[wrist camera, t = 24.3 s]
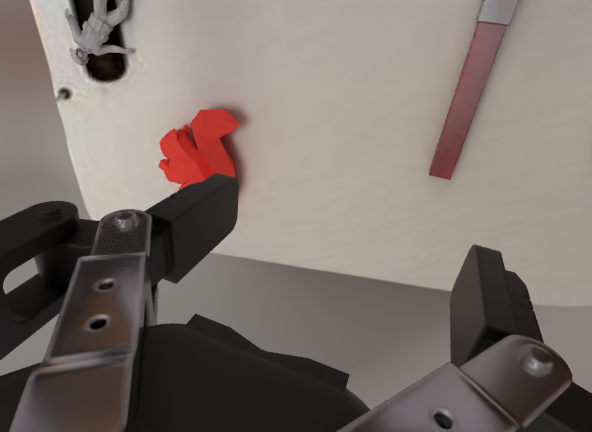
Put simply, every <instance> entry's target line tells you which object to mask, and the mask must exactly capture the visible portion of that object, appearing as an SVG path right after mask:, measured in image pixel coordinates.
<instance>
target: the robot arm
mask: <svg viewBox="0 0 592 432" xmlns="http://www.w3.org/2000/svg"><path fill="white" fill-rule="evenodd" d="M238 190H239V183H238V180H237V178H235V177H231V176H227V175H224V174H220V173H215V174H213V175H212V176H210V177H209V178H207V179H205V180H204V181H202V182H197V183H194V184H190V185H187V186H185V187H184V188H182V189H180V190H179V191H177V193H176V192H175V193H174V194H172V195H171V196H170V197H169V198H168V197H167V198H166V199H164V200H162V201H161V202H159V203H157V204H156V205H154V206H152V207H151V208H149V209H148V210H146V211H141V210H134V209H127V210H119V211H115V212H112V213H110V214H108V215H106V216H104V217H103V218H102V219H101V220H100V221H94V220H84V219H79V214H78V209H77V207H76V206H75V205H74V204H72V203H70V202H65V201H51V202H44V203H40V204H36V205H33V206H31V207H29V208H27V209H25V210H23V211H20V212H18V213H16V214H14V215H12V216H10V217H8V218H6V219H3V220H1V221H0V360H1V359H3V358H4V357H5V356H6V355H7V354H9V353H10V352H11V351H12V350H14V349H15V348H16V347H17V346H19V345H20V344H21V343H22V342H23V341H25V340H26V339H27V338H29V337H30V336H31V335H32V334H34V333H35V332H36V331H37V330H39V329H40V328H41V327H42V326H44V325H45V324H46V323H47V322H49V321H50V320H51V319H52V318H54V317H55V316H56V315H57V314H59V316H58V319H57V322H56V325H55V328H54V331H53V334H52V337H51V340H50V343H49V346H48V348H47V352H46V354H45V357H44V359H43V361H42V362H41V363H38V364H35V365H32V366H29V367H26V368H23V369H20V370H17V371H14V372H11V373H8V374H5V375H2V376H0V432H592V393H590V392H588V391H587V390H585V389H583V388H581V387H580V386H578V385H577V384H575V383H574V382H573V381H572V373H571V371H570V369H569V367H568V365H567V364H566V363H565V361H564V360H563V359H562V358H561V357H560V356H559V355H558V354H557V353H556V352H555V351H554V350H552V349H551V348H549V347H548V346H546V345H545V344H544V342H543V339H542V335H541V332H540V329H539V326H538V322H537V319H536V316H535V313H534V311H533V306H532V303H531V301H530V296H529V293H528V290H527V287H526V285H525V284H524V283H523V281H522V280H521V279H520V278H519V277H518V276H517V274H516V273H514V272H511V271H507V270H505V267H504V263H503V259H502V255H501V252H499V251H496V250H492V249H489V248H485V247H482V246H478V245H473V246H472V247H471V248H470V250H469V252H468V255H467V257H466V259H465V261H464V264H463V266H462V268H461V270H460V273H459V275H458V277H457V279H456V282H455V284H454V287H453V290H452V294H451V299H450V333H451V335H450V339H451V362H448V363H446V364H444V365H442V366H440V367H439V368H437V369H436V370H434V371H432V372H431V373H430V374H428V375H426V376H424V377H423V378H421V379H420V380H418V381H416V382H415V383H413V384H412V385H410V386H409V387H407V388H405V389H404V390H402V391H400V392H399V393H397V394H396V395H394V396H393V397H391V398H389V399H388V400H386V401H384V402H383V403H381V404H380V405H378V406H376V407H375V408H373V409H372V410H370V409H369V408H368V407H367V406H366V405H365V403H364V402H363V401H362V400H360V399H359V398H358V397H357V396H356V395H355V394H353V393H352V392H351V391H349V390H347V389H346V385H347V382H348V378H349V374H347V373H344V372H342V371H339V370H337V369H334V368H331V367H329V366H327V365H324V364H322V363H319V362H316V361H314V360H311V359H309V358H303V357H297V356H291V355H284V354H279V353H273V352H267V351H264V350H261V349H260V348H258V347H257V346H256V345H254V344H252V343H251V342H250V341H248V340H247V339H246V338H244V337H243V336H242V335H240V334H239V333H237V332H236V331H235V330H233V329H232V328H230V327H228V326H225V325H223V324H220V323H218V322H215V321H213V320H210V319H207V318H205V317H203V316H200V315H197V314H195V315H194V316H193V317H192V318H191V320H190V321H189V322H188V323H187V324H174V323H173V324H159V325H157V312H158V282H159V281H160V280H161V279H165V280H168V281H170V282H173V283H176V284H177V283H178V282H179V281H180V280H181V279H182V278H183V277H184V276H185V275H186V274H187V273H188V272H189V271H190V270H191V269H193V267H195V266H196V265H197V264H198V263H199V262H200V261H201V260H202V259H203V258H204V257H205V256H206V255H207V254H208V253H209V252H210V251H212V250H213V249H214V248H215V247H216V246H217V245H218V244H219V243H220V242H221V241H222V240H223V239H224V238H225V237H226V236H227V235H228V234H229V233H231V231H232V230H233V228H234V227H235V224H236V221H237V213H238ZM33 257H34V259H35V262H36V265H37V269H38V272H39V273H38V274H37V275H35V276H34V277H32V278H31V279H29V280H27V281H26V282H24V283H23V284H21V285H20V286H18V287H17V288H15V289H14V290H12V291H11V292H9V293H7V294H6V295H5V293H4V290H3V282H4V279H5V277H6V276H7V275H8V273H10V272H11V271H12V270H13V269H15V268H17V267H18V266H20V265H22V264H23V263H25V262H26V261H28V260H30V259H32V258H33Z"/></svg>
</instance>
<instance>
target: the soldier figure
mask: <svg viewBox="0 0 592 432" xmlns="http://www.w3.org/2000/svg"><path fill="white" fill-rule="evenodd" d="M106 2H107V0H94V12H92V13H91V16H90V18H89V21H88V22H87V21H85V22H84V24H83V26H82V27H83V30H82V31H81V32H80V28H79V26H78V23H77V21H76V19H75V18H74V17H73V16H74V15H71V13H69V12H70V11H69V9H68V8H67V9H66V10H65V16H66V18H67V21H68V24H69V25H70V27H71V31H72V35H73V38H74V39H73V40H74V41H75V42H76V43H77V44H79V45H80V49H79V47H78V49H76V50H73V49H70V54H71V57H72V59H73V60H74V61H75V62H76V63H77V64H79V65H82V66H83V65H84V64H86V63H87V62H88V59H89V58H88V57H87V54H86V53H88V54H90V53H93V54H95V55H98V56H99V55H101V54H105V53H110V52H114V53H125V54H126V53H127V54H130V53H132V52H133V51H132V50H131V49H129V48H127V49H126V50H125V49H124V48H121V47H118V46H115V45H102V44H103V42H104V43H105V42H106V41H107V40H108V39H109V37H108V36H109V33H110V32H111V31H112V30H113V28H114V26H116V25H117V24H119V23H120V22H121V21H122V20H124V19H125V18H126V17H127V13H128V12H129V9H128V8H129V0H122V1H121V3H120V5H119V6H118V8H117V9H115V10H113V11H110V12H107V9H106ZM67 11H68V12H67ZM128 49H129V50H128ZM130 50H131V51H130Z"/></svg>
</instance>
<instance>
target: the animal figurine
mask: <svg viewBox="0 0 592 432" xmlns="http://www.w3.org/2000/svg"><path fill="white" fill-rule="evenodd" d="M190 125H191V128H192V131H193V135H194V138H195V142H196V145H197V147H196V145H195V144H194V142H193V141H192V140H191V138H190V137H189V134H190V131H191V130H190V128H189V127H188V126H187V124H186V125H185V126H184V127H183V130H181V129H180V130H176V131H175V129H173V130H171V131H169V133H167V134H166V135H165V136H164V137H163V138H162V140H161V141H160V147H161V150H162V152H163V154H164V156H165V157H166V158H168V159H167V161H166V159H163V160H161V161H160V164H159V166H158V167H159V168H161V169H162V170H164V173H165V175H166V177H167V180H168V181H172V182H175V183H178V184H182V186H181V187H180V188H179V190H180V189H182V188H184V187H185V186H187V185H190V184H194V183H197V182H202V181H204V180H205V179H207V178H209V177H210V176H212V175H213V174H215V173H220V174H224V175H227V176H231V177H235V168H234V161H233V160H232V158H231V157H230V155H229V154H228V152H227V151H226V149H225V148H224V146H223V145H222V143H221V140H220V138H221V137H222V136H223V135H225V134H228V133H231V132H232V131H233V130H234V129H236V128H237V127H238V126H239V125H240V124H239V123H238V122H237V121H236V120H235V119H234V118H233V117H232V115H231V114H230V113H229V112H228V111H227V110H200V111H199V113H198V114H197V115H196V117H195V118H194V119H193V120H192V122H191V123H190Z"/></svg>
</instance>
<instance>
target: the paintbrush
mask: <svg viewBox="0 0 592 432" xmlns="http://www.w3.org/2000/svg"><path fill="white" fill-rule="evenodd" d="M518 1H519V0H483V1H482V4H481V7H480V10H479V13H478V16H477V19H476V22H478V24H477V27H476V30H475V33H474V36H473V39H472V42H471V45H470V48H469V51H468V54H467V57H466V60H465V63H464V66H463V69H462V72H461V75H460V78H459V81H458V84H457V87H456V90H455V94H454V97H453V100H452V103H451V106H450V109H449V112H448V115H447V118H446V121H445V124H444V127H443V130H442V133H441V136H440V139H439V142H438V145H437V148H436V151H435V154H434V157H433V160H432V163H431V166H430V170H429V175H431V176H436V177H440V178H444V179H448V180H450V179H451V176H452V174H453V171H454V168H455V165H456V163H457V160H458V157H459V154H460V152H461V149H462V146H463V144H464V141H465V138H466V135H467V133H468V130H469V127H470V124H471V122H472V119H473V116H474V113H475V111H476V108H477V105H478V103H479V100H480V97H481V94H482V92H483V89H484V86H485V83H486V81H487V78H488V75H489V72H490V70H491V67H492V64H493V62H494V59H495V56H496V53H497V51H498V48H499V45H500V42H501V40H502V37H503V34H504V31H505V29H506V26H507V25H510V23H511V20H512V18H513V15H514V12H515V10H516V7H517V4H518Z"/></svg>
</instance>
